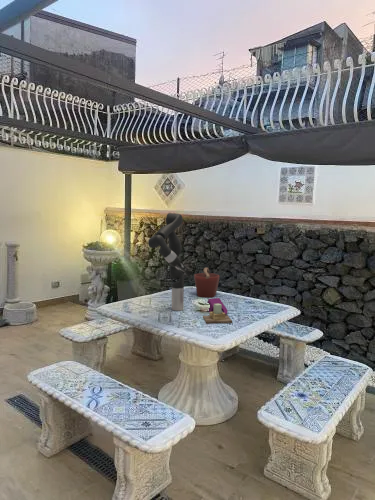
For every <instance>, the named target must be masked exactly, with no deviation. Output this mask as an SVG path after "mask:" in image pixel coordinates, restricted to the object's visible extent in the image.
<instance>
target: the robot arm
mask: <svg viewBox="0 0 375 500" xmlns="http://www.w3.org/2000/svg"><path fill="white" fill-rule="evenodd" d="M183 220H184V219H183V215H182V214H181V213H174V212H173V213H171V212H169V213H167V214H166V216H165V222H166V224H165V225H164V226H161V228H160V229H158V231H157V232H156V233H155V234H153V235H152V236H151V237H150V238H149V239H148V242H147V243H148V247H150V249H151V248H152V249H155V248H158V247H160V248H159V249H158V252H159V255H161V257H163V258H164V260H166V262H167V263H168V264H169V276H170V278H171V279H177V280H178V281H175V282H172V283H171V310H172V311H176V312H177V311H179V312H180V311H184V301H185V299H184V298H185V297H184V296H185V294H184V293H185V292H184V291H185V275H187V276H188V277H189V276H191V272H190V271H189V269H188V268H187V267H186V265H185V264H183V263H182V262H181V258H180V257H179V256H180V255H181V253H182V241H181V240H180V238H179V236H178V235H177V233H176V231H175V230H176V229H178V228H180V226H182V223H183ZM166 239H168V243H167V242H166Z"/></svg>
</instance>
